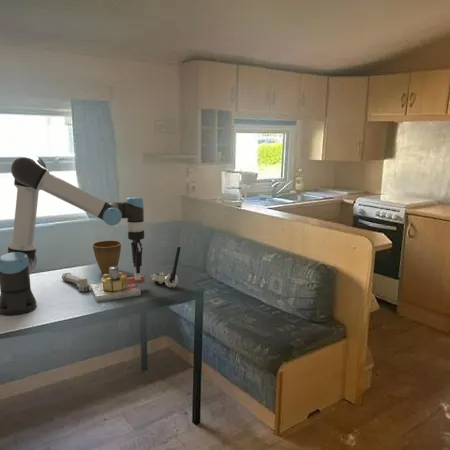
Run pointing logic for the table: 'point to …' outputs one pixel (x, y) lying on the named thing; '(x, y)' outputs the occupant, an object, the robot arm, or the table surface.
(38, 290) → the table surface
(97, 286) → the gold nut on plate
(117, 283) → the yellow valve with lever
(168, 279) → the butterfly valve
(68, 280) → the white handheld device
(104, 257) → the plant pot
